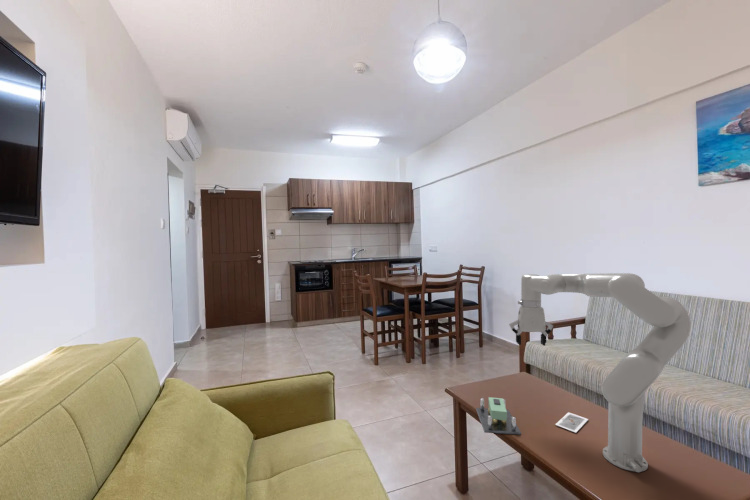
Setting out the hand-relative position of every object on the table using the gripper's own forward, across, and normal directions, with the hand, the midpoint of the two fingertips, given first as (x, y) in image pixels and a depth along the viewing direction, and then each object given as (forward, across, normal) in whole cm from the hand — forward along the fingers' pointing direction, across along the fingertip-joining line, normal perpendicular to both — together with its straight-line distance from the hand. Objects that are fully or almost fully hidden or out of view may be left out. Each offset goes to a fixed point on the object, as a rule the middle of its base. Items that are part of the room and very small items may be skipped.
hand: (530, 344), depth 140 cm
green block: (+29, -14, -1) cm, 32 cm away
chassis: (+33, -14, -1) cm, 36 cm away
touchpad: (+34, +17, +1) cm, 38 cm away
